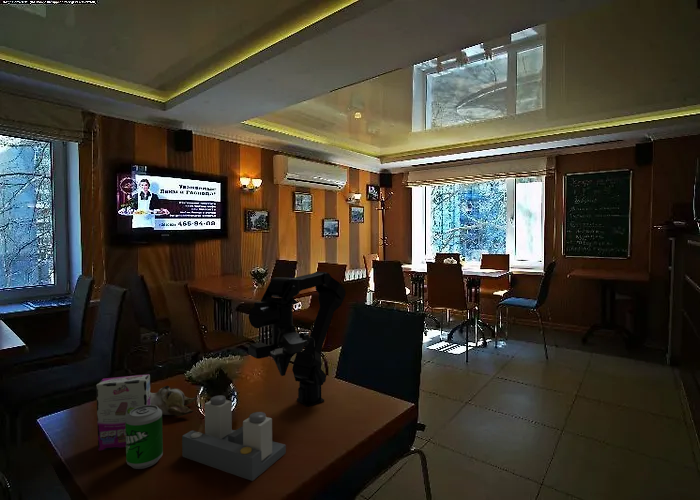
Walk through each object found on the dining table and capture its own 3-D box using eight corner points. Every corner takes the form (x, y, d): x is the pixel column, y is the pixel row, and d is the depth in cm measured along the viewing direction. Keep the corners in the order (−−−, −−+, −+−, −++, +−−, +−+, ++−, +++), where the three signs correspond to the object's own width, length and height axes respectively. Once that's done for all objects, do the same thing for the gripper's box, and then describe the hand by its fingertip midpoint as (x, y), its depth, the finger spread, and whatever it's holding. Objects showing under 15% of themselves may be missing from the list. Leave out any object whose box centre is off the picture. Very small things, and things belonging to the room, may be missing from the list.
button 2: (254, 447, 93) (254, 409, 92) (272, 452, 90) (271, 414, 90) (243, 456, 89) (242, 416, 89) (260, 461, 87) (260, 421, 86)
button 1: (217, 428, 102) (216, 393, 102) (231, 432, 100) (231, 397, 99) (205, 435, 98) (204, 399, 98) (220, 439, 96) (219, 403, 96)
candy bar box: (152, 435, 103) (151, 373, 102) (147, 445, 98) (146, 380, 97) (103, 441, 100) (102, 377, 99) (97, 451, 95) (95, 384, 94)
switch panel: (219, 433, 104) (219, 413, 103) (285, 453, 94) (285, 431, 94) (182, 456, 93) (182, 434, 93) (252, 481, 84) (252, 456, 83)
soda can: (154, 449, 96) (153, 400, 96) (168, 460, 91) (168, 409, 91) (120, 462, 90) (119, 411, 90) (134, 475, 86) (133, 421, 85)
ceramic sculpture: (145, 380, 118) (198, 378, 122) (144, 408, 119) (197, 406, 122) (135, 394, 108) (194, 392, 112) (134, 425, 108) (192, 422, 112)
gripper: (265, 331, 100) (266, 392, 101) (325, 321, 112) (325, 376, 113) (247, 324, 109) (247, 379, 109) (304, 315, 121) (304, 366, 121)
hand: (282, 375), depth 113 cm, fingers closed
